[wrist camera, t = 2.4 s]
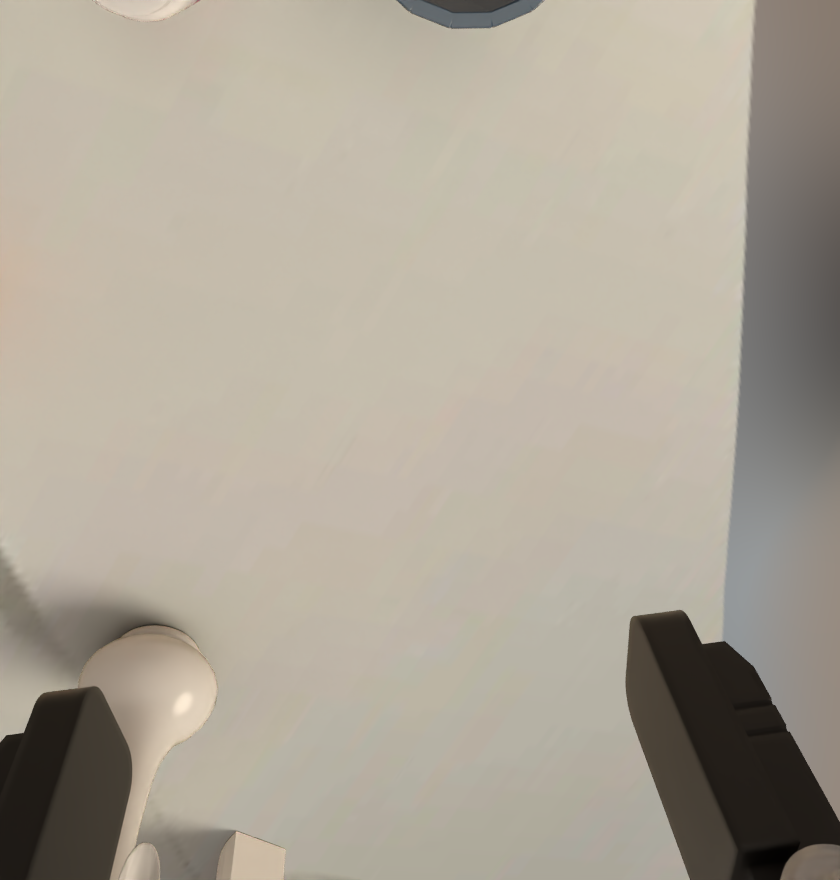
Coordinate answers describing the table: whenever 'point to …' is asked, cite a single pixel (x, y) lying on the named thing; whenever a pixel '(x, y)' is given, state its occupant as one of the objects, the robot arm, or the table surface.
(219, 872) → the white concave block
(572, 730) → the table surface
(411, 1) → the pen cup
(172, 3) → the pill bottle
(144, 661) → the flower vase
